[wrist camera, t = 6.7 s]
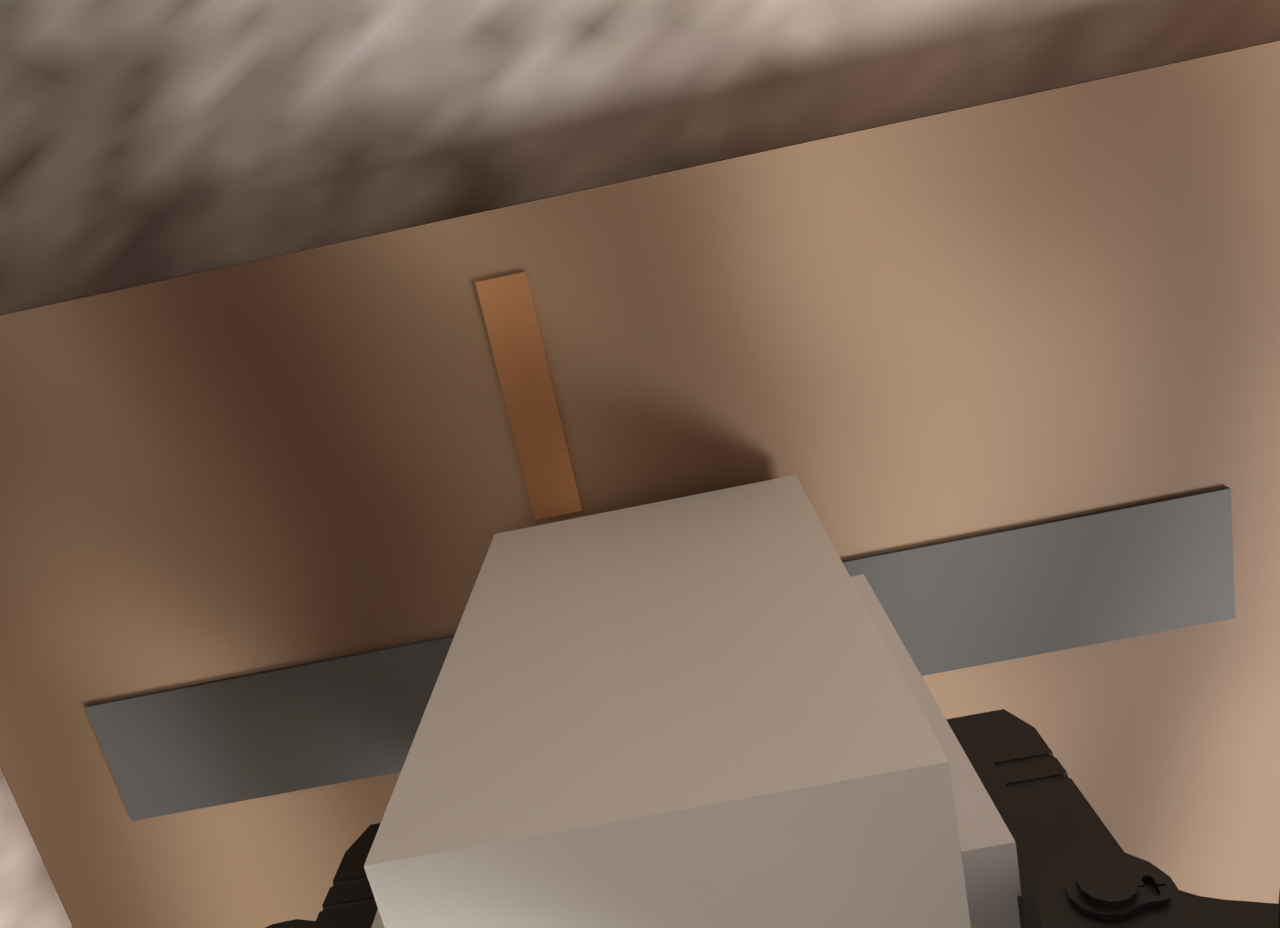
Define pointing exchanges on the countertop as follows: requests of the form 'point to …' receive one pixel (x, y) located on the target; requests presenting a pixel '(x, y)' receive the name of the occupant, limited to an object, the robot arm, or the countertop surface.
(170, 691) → the fader board
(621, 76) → the countertop surface
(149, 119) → the countertop surface
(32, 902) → the countertop surface
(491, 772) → the fader cap
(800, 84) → the countertop surface
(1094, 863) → the robot arm
